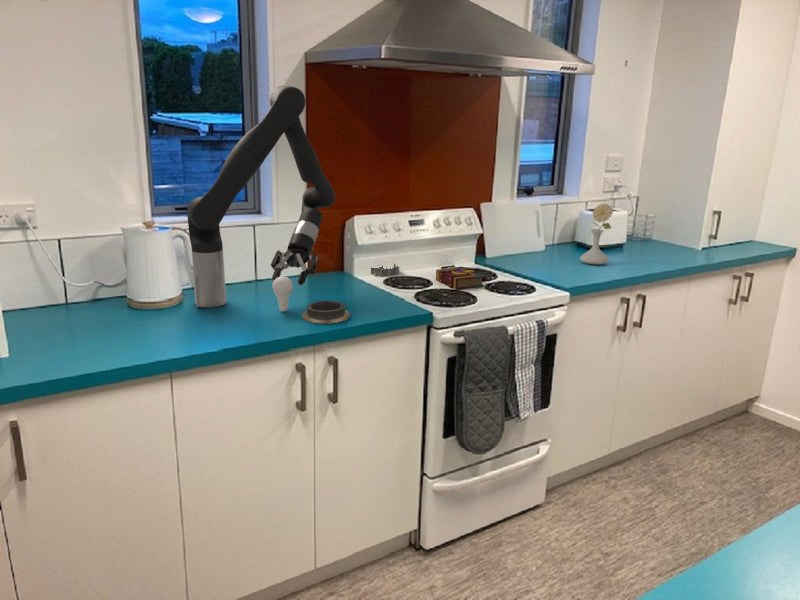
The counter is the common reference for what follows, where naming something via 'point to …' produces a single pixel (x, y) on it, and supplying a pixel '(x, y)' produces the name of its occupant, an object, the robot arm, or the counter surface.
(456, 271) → the decorative book
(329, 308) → the bulb holder
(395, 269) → the egg carton
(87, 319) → the counter surface
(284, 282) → the lightbulb
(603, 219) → the flower in vase
